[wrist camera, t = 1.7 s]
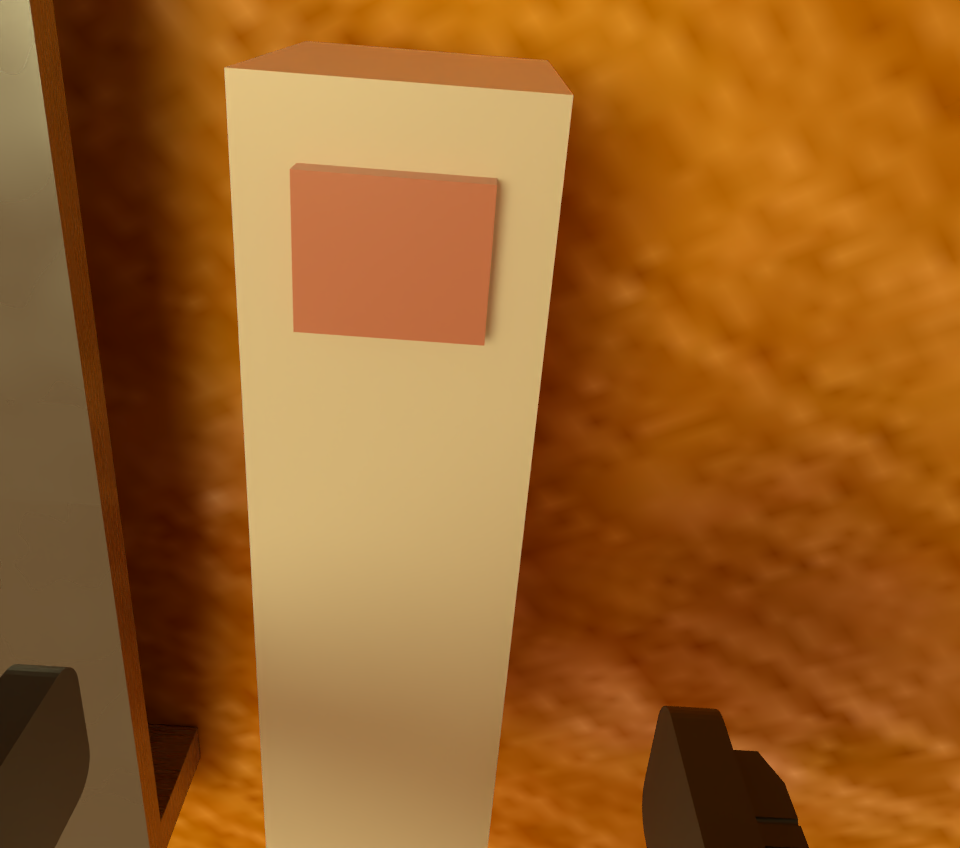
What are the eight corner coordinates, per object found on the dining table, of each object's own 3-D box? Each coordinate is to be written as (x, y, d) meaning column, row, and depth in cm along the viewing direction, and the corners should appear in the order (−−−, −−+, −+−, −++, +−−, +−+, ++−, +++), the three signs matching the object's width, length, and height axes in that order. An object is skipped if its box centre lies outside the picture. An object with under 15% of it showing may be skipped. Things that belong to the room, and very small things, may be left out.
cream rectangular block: (335, 31, 17) (214, 71, 10) (539, 47, 17) (576, 98, 10) (335, 661, 24) (267, 965, 17) (479, 671, 24) (474, 976, 17)
